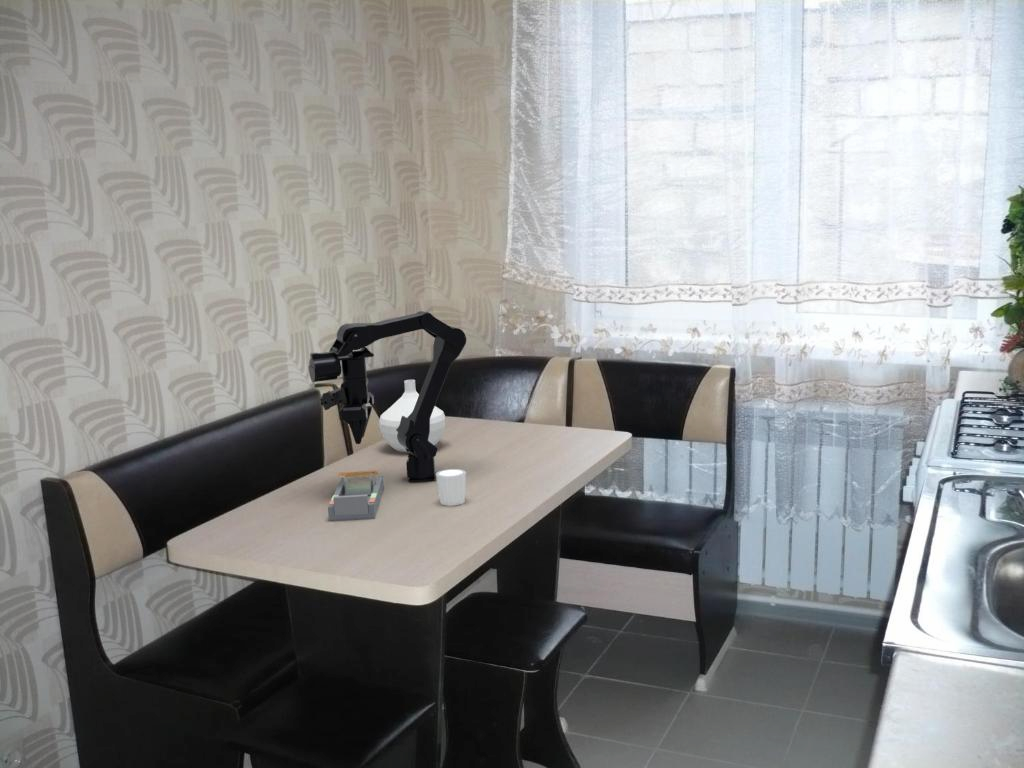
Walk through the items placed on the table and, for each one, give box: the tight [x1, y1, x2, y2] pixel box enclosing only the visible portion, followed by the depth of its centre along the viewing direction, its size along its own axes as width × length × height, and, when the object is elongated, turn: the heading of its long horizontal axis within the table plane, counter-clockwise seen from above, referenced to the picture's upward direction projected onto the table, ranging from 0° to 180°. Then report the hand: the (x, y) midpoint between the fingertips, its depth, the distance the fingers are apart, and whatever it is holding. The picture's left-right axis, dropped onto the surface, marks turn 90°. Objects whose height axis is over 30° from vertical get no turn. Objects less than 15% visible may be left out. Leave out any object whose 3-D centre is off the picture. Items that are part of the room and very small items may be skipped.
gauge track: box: [327, 475, 385, 522], centre depth 244 cm, size 10×23×5 cm, turn 2°
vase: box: [378, 379, 446, 454], centre depth 292 cm, size 18×18×19 cm
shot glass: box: [436, 468, 467, 507], centre depth 242 cm, size 7×7×7 cm
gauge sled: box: [337, 470, 379, 496], centre depth 248 cm, size 9×5×5 cm, turn 92°
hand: (359, 440), depth 255 cm, fingers open, 6 cm apart
